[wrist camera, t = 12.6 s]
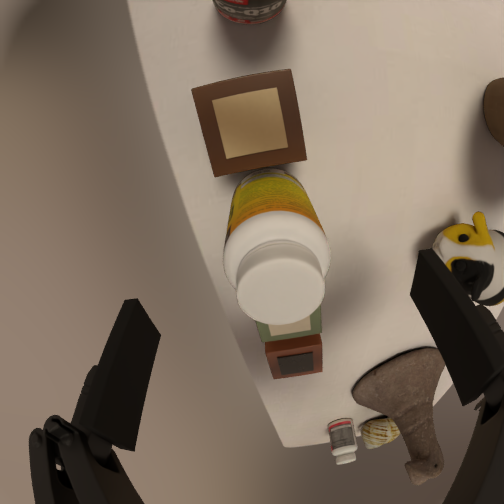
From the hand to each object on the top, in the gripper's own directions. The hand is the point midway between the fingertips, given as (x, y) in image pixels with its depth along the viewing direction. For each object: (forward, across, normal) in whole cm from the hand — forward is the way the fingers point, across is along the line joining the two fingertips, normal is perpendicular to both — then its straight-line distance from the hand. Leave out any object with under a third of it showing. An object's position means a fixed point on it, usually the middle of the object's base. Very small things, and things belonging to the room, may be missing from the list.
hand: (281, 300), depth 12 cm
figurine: (+10, +20, -8) cm, 24 cm away
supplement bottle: (+10, 0, 0) cm, 11 cm away
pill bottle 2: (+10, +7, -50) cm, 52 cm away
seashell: (+10, +18, -55) cm, 59 cm away
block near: (+10, 0, +7) cm, 12 cm away
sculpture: (+10, +17, -33) cm, 38 cm away
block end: (+10, 0, -14) cm, 17 cm away
